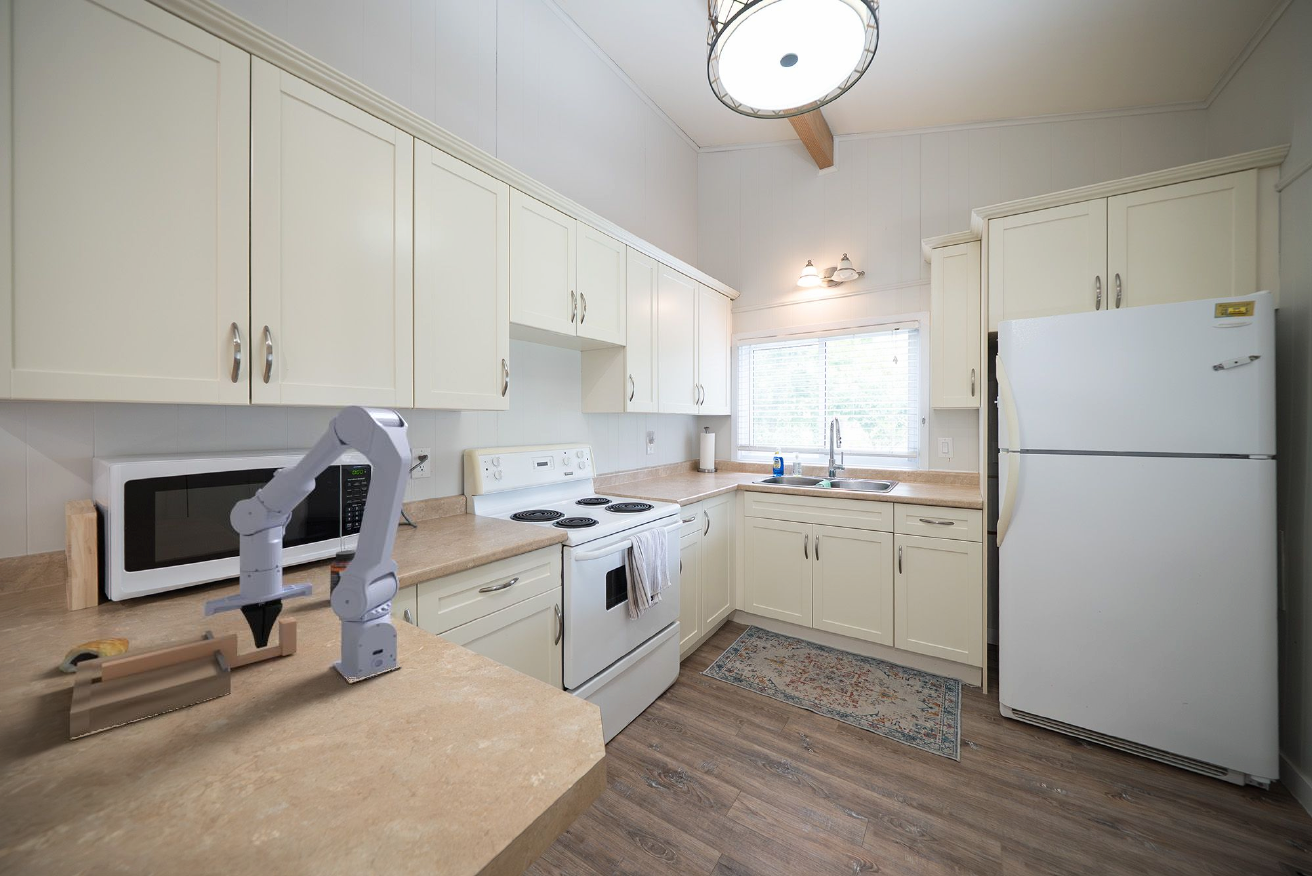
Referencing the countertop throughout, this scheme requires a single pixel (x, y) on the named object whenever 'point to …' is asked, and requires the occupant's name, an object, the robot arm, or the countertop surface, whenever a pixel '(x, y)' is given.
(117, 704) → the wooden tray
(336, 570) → the supplement bottle
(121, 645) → the pastry
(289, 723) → the countertop surface
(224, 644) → the stepped wooden plank
